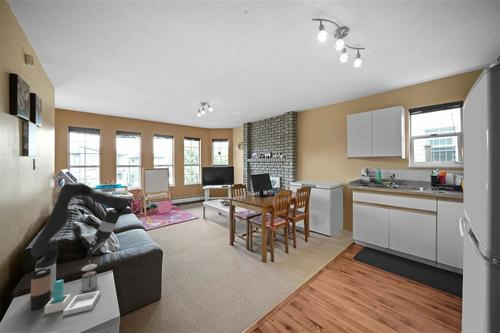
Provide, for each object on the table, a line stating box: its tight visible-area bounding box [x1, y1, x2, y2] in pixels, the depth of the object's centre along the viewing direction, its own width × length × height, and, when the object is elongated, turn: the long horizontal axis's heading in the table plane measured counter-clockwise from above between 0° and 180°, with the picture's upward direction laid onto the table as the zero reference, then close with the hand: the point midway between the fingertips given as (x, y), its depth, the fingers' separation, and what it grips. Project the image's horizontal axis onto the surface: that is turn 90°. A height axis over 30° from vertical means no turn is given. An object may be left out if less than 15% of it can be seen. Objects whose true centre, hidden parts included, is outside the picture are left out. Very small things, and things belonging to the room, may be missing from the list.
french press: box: [80, 258, 98, 292], centre depth 126 cm, size 10×12×25 cm
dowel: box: [52, 279, 65, 304], centre depth 108 cm, size 4×4×14 cm
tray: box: [62, 290, 101, 317], centre depth 109 cm, size 12×14×4 cm
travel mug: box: [30, 268, 51, 311], centre depth 109 cm, size 8×8×20 cm
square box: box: [44, 293, 72, 315], centre depth 107 cm, size 8×8×5 cm
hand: (91, 256), depth 112 cm, fingers open, 8 cm apart
